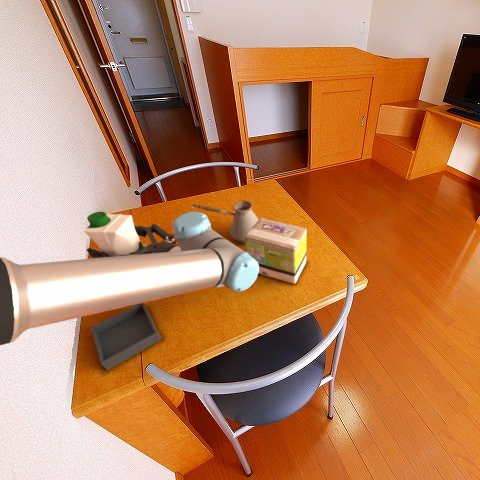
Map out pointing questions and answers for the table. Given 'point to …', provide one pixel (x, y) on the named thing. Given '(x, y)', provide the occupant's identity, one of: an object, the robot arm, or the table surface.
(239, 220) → the coffee pot
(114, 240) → the milk carton
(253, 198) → the table surface
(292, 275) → the tea box
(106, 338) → the tray
